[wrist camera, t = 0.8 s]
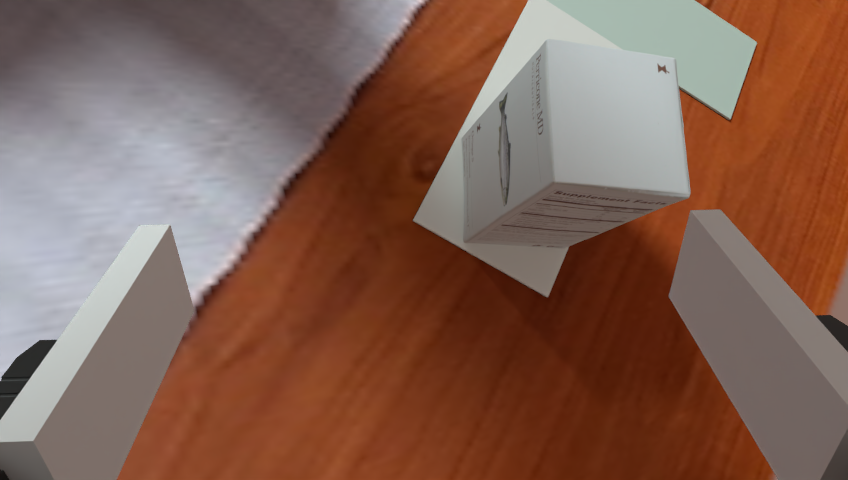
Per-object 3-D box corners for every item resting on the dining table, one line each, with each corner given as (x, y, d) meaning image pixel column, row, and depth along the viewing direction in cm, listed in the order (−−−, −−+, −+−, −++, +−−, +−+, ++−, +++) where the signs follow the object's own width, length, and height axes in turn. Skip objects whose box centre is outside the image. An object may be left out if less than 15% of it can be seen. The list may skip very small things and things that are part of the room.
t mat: (647, 355, 40) (649, 355, 40) (298, 155, 37) (298, 154, 37) (755, 43, 49) (756, 42, 49) (482, -139, 46) (483, -141, 46)
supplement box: (458, 136, 40) (545, 30, 28) (560, 148, 42) (682, 54, 30) (458, 245, 38) (552, 182, 26) (565, 253, 40) (697, 197, 28)
